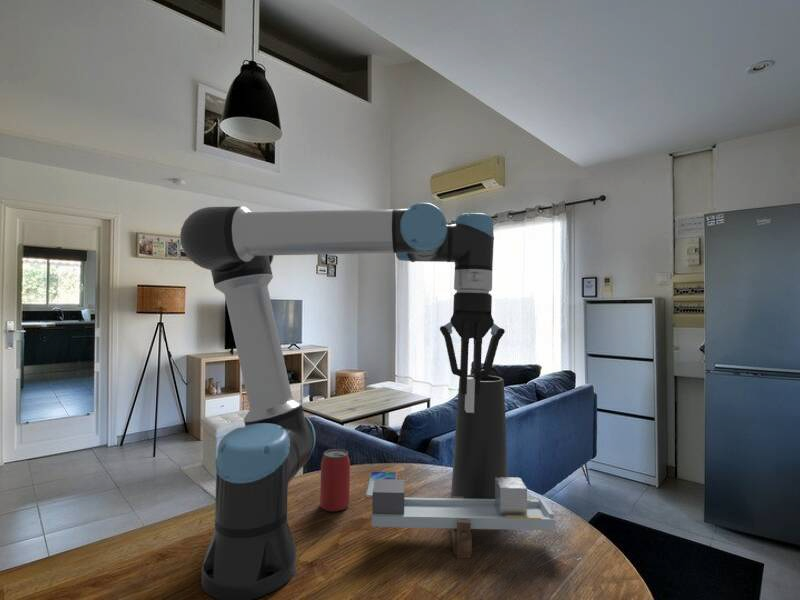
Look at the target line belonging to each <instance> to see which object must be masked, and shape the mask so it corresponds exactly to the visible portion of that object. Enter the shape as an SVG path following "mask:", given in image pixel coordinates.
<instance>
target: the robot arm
mask: <svg viewBox="0 0 800 600" xmlns="http://www.w3.org/2000/svg"><path fill="white" fill-rule="evenodd" d="M446 219H447V218H446V216H445V214H444V213H443V211H442V210H441V209H440V208H439V207H438V206H436V205H434V204H432V203H430V202H418V203H415V204H413V205H411V206H409V208H396V209H351V210H350V209H349V210H348V209H347V210H346V209H345V210H300V211H299V210H297V211H296V210H295V211H293V210H292V211H290V210H289V211H258V212H257V211H252V210H250V209H249V208H248V207H247V206H209V207H203V208H199V209H197V210H195V211H194V212H192V213H191V214H189V216H188V217H187V218H186V219H185V220H184V222H183V224H182V227H181V228H180V235H179V236H180V244H181V247H182V250H183V252H184V254H185V255H186V257H187V258H188V259H189V261H191V262H193V263H194V264H195V265H196V266H199V267H200V268H203V269H206V270H209V271H210V272H211V277H212V282H213V286H214V288H215V289H216V290H218V291H219V292H221V293H222V294H223V295H224V298H225V303H226V307H227V312H228V316H229V321H230V325H231V331H232V335H233V340H234V343H235V348H236V353H237V356H238V362H239V365H240V371H241V375H242V379H243V384H244V389H245V392H246V397H247V403H248V406H249V407H248V408H249V410H248V412H247V413H246V415H245V417H244V418H243V423H244V425H245V426H244V427H240V426H239V427H237V428H235V429H233V430H230V431H229V432H228V433H226V434H225V435H224V436H223V437H222V438H221V440H220V441H219V444H218V446H217V453H216V457H215V465H214V466H215V503H214V507H215V509H214V510H215V511H214V532H213V533H212V537H211V540H210V543H209V545H208V548H207V551H206V554H205V557H204V560H203V562H202V567H201V586H202V589H203V591H204V592H205V593H206V594H207V595H208V596H210V597H212V598H214V599H215V600H255V599H258V598H261V597H264V596H267V595H270V594H271V593H273V592H274V591H277V590H279V588H281V587H283V585H285V584H286V583H287V582H288V581H290V580H291V578H292V577H293V575H294V573H295V571H296V568H297V549H296V548H297V547H296V544H295V540H294V538H293V535H292V533H291V529H290V526H289V522H288V493H289V492H288V491H289V490H288V489H289V484H290V483H291V481H292V480H293V479H294V478H295V476H296V475H297V474H298V472H300V471H301V469H302V468H303V467H304V466H305V465H307V462H309V460H310V458H311V456H312V454H313V451H314V449H315V447H316V430H315V427H314V425H313V423H312V422H311V420H310V418H308V417H307V416H306V415H305V412H304V408H303V403H302V402H301V401H300V400H298V399H296V398H295V397H293V395H292V389H291V386H290V380H289V377H288V372H287V367H286V364H285V359H284V355H283V350H282V346H281V341H280V336H279V331H278V327H277V323H276V318H275V314H274V310H273V305H272V300H271V296H270V291H269V284H270V283H271V281H272V279H273V278H274V276H273V271H272V265H271V264H272V263H273V260H274V256H307V255H309V256H312V255H313V256H315V255H350V254H351V255H354V254H355V255H358V254H395V256H396V259H397V260H399V261H404V262H405V261H406V262H411V263H415V262H424V263H425V262H433V263H434V262H437V263H440V262H441V263H443V262H444V263H445V262H446V263H454V278H453V279H454V280H453V289H454V291H456V292H454V294H453V309H452V311H453V312H452V316H451V318H450V321H449V322H448V323H446V324H444V325H441V326H440V327H439V331H440V332H441V335H443V337H444V342H445V347H446V353H447V356H448V361H449V365H450V370H451V373H452V375H454V376H455V375H456V376H458V377H459V378H460V392H461V394H465V411H466V412H467V413H474V395H479V394H480V380H481V378H482V377H484V376H489V375H490V376H491V372H492V368H493V364H494V360H495V358H496V357H495V356H496V353H497V351H498V346H499V344H500V343H499V342H500V339H501V338H502V337H503V335H505V333H506V331H505V330H506V329H504V328H501V327H500V326H498V325H497V324H496V323H494V321H495V320H494V318H493V316H492V307H493V306H492V303H493V302H492V301H493V295H492V294H491V293H490V292H492V290H493V267H494V266H493V265H494V264H493V262H494V246H495V245H494V241H495V237H494V220H493V218H492V216H491V215H488V214H487V213H482V212H481V213H480V212H469V213H461V214H459V215H458V216H457V217H456V219H455V222H454V224H453V223H452V224H447V220H446ZM453 328H454V330H455V331H456V333H457V334H458V336H459V337H460V365H459V366H460V368H459V366H458V363H457V362H458V361H457V356H456V353H455V348H454V344H453V343H454V342H453V338H452V336H451V334H453ZM490 329H491V331H490ZM489 331H490V334H491V338H490V341H489V343H488V348H487V352H486V355H485V359H484V363H483V365H482V354H483V353H482V348H483V347H482V346H483V338H484V337H485V336H486V335H487V334H488V332H489ZM470 339H473V357H472V358H473V359H472V360H473V361H472V362H473V363H472V375H473V377H467V376H468V375H469V374H468V371H469V370H468V369H469V348H470V346H469V344H470ZM482 366H483V367H482Z"/></svg>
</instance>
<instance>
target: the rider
mask: <svg viewBox="0 0 800 600" xmlns="http://www.w3.org/2000/svg"><path fill="white" fill-rule="evenodd" d="M527 499H528V487H527V486H526V484H525V483H524V481H523V480H522V478H521V477H513V476H512V477H509V476H508V477H495V509H496V511H497V513H498V515H499V516H506V515H515V516H527Z"/></svg>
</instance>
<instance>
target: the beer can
mask: <svg viewBox="0 0 800 600" xmlns="http://www.w3.org/2000/svg"><path fill="white" fill-rule="evenodd" d="M350 480H351V459H350V457H349V451H347V450H346V449H341V448H333V449H328V450H325V451H324V452H323V456H322V459H321V462H320V490H319V493H320V494H319V500H320V501H319V505H320V507H321V508H322V509H323V510H325V511H327V512H332V513H334V512H341V511H343V510H345V509H347V507H348V506H349V504H350V493H351V491H350V484H351V481H350Z"/></svg>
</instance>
